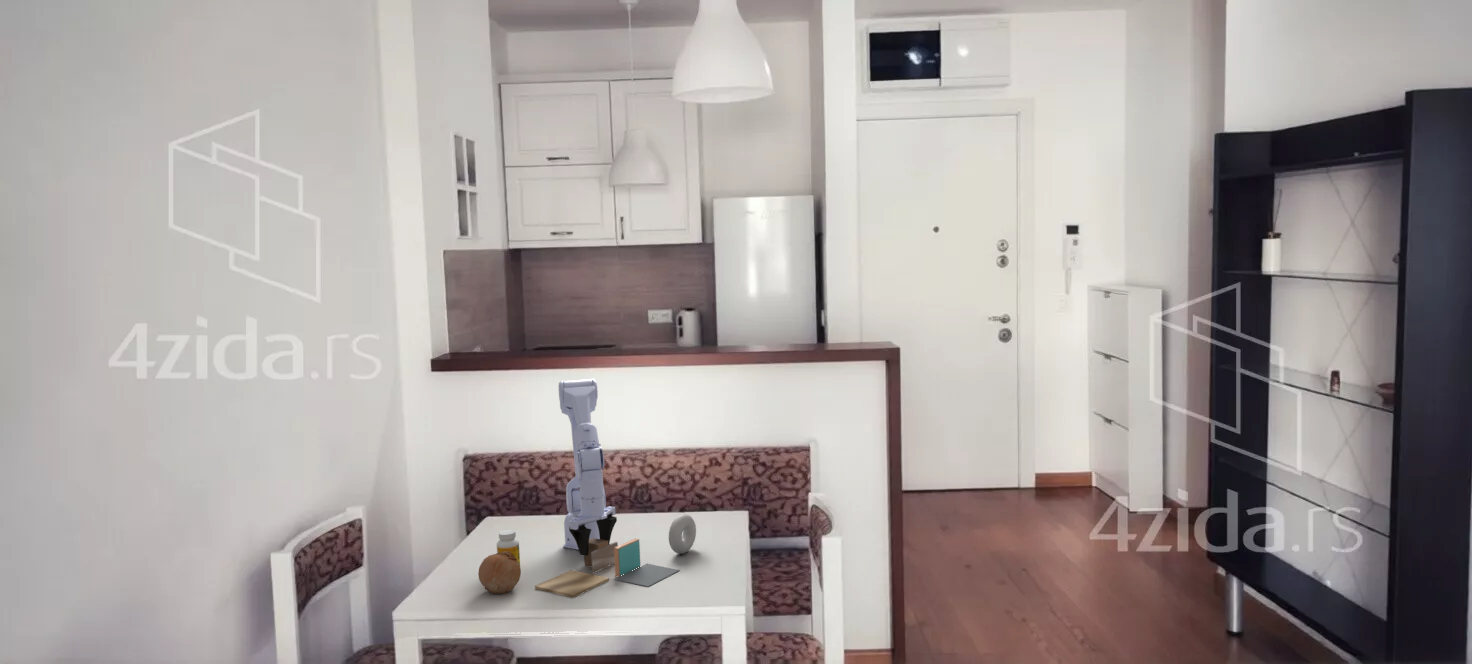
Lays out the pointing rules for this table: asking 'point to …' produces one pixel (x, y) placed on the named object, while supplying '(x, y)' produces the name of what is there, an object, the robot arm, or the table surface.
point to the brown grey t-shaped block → (600, 554)
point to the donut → (675, 533)
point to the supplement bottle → (508, 543)
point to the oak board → (571, 583)
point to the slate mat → (647, 575)
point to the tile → (627, 557)
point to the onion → (499, 572)
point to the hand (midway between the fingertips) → (594, 550)
